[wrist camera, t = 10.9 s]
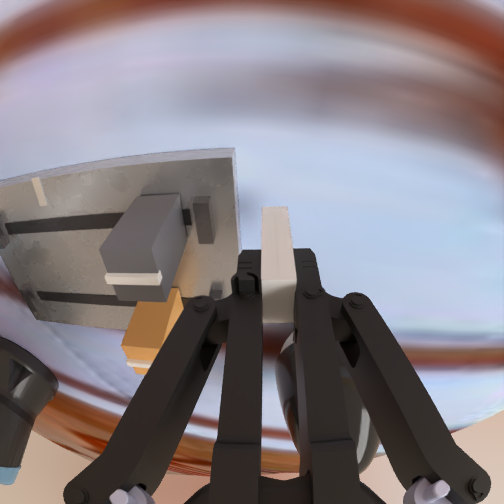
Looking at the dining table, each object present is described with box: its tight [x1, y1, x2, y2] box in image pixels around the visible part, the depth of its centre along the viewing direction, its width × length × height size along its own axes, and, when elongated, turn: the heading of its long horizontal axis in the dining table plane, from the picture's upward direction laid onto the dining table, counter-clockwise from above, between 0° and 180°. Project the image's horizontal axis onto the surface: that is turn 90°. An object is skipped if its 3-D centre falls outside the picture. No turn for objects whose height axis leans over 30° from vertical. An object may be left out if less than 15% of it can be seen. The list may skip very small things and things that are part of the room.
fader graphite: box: [99, 194, 187, 302], centre depth 18 cm, size 3×4×6 cm
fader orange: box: [121, 288, 184, 375], centre depth 22 cm, size 3×4×6 cm
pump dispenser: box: [275, 331, 380, 474], centre depth 24 cm, size 10×10×15 cm
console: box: [0, 148, 242, 330], centre depth 24 cm, size 24×16×3 cm
